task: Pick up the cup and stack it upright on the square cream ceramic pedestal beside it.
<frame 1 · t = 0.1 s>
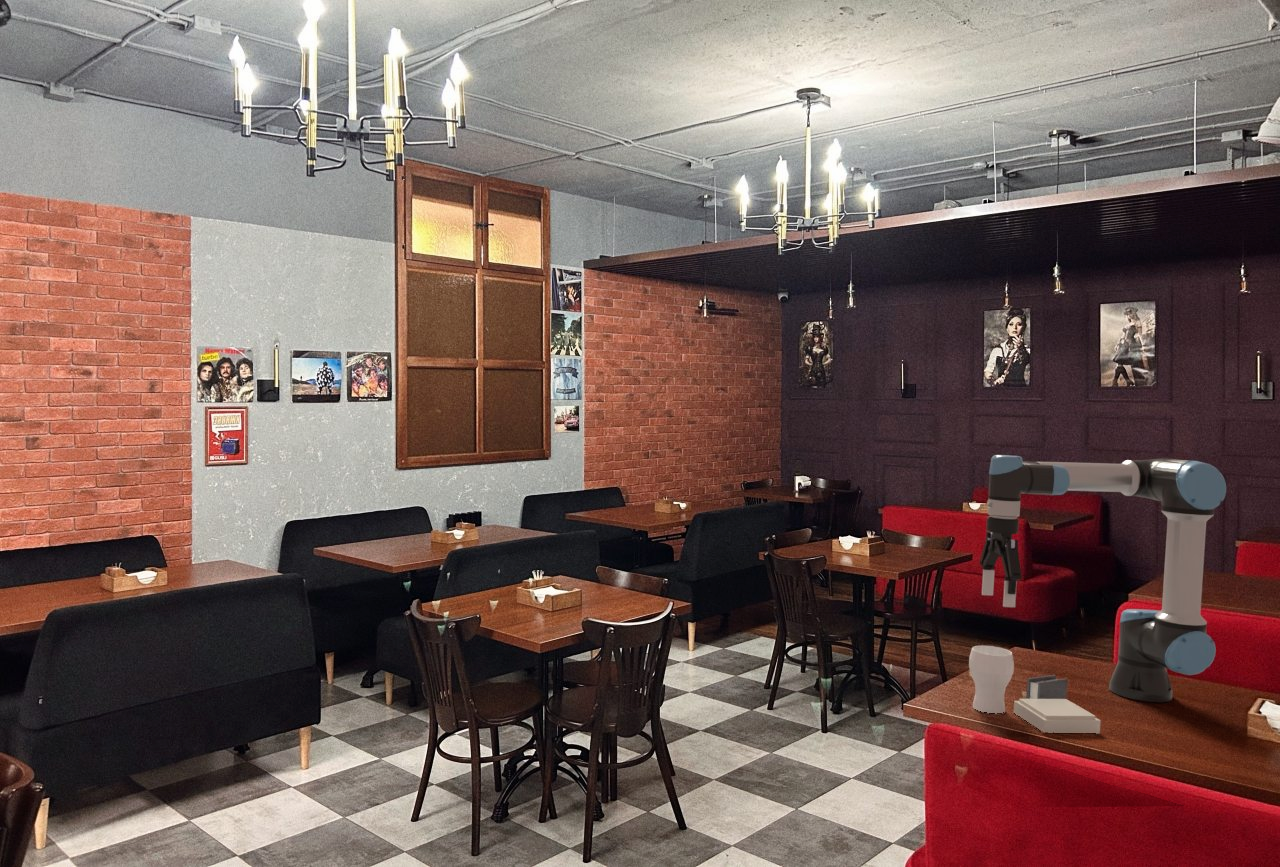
hand: (997, 600, 233), 28 cm above the table, fingers open, 13 cm apart
pedestal: (1055, 723, 225), on the table
cup: (988, 710, 234), on the table
napkin holder: (1045, 705, 239), on the table
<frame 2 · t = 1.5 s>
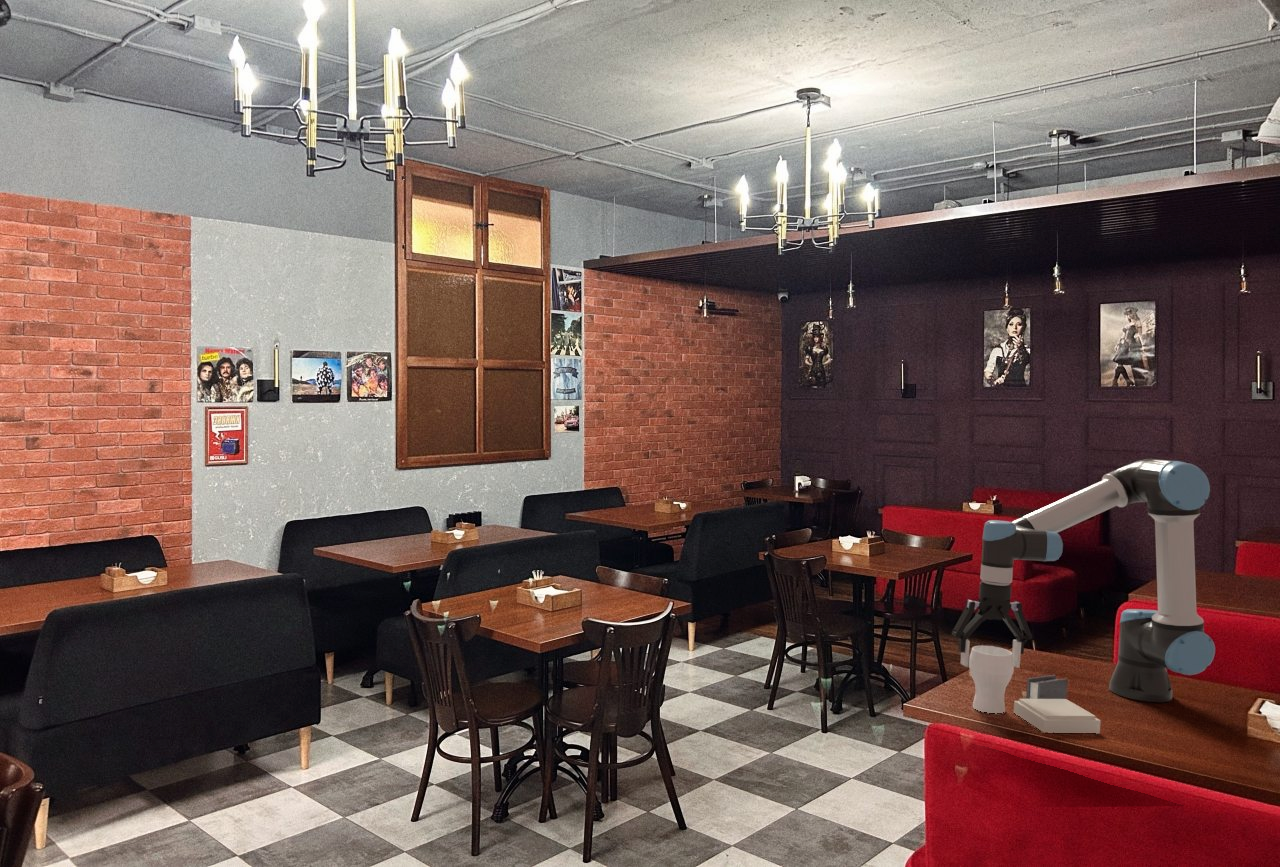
hand: (989, 665, 233), 11 cm above the table, fingers open, 13 cm apart
nothing on the table moved.
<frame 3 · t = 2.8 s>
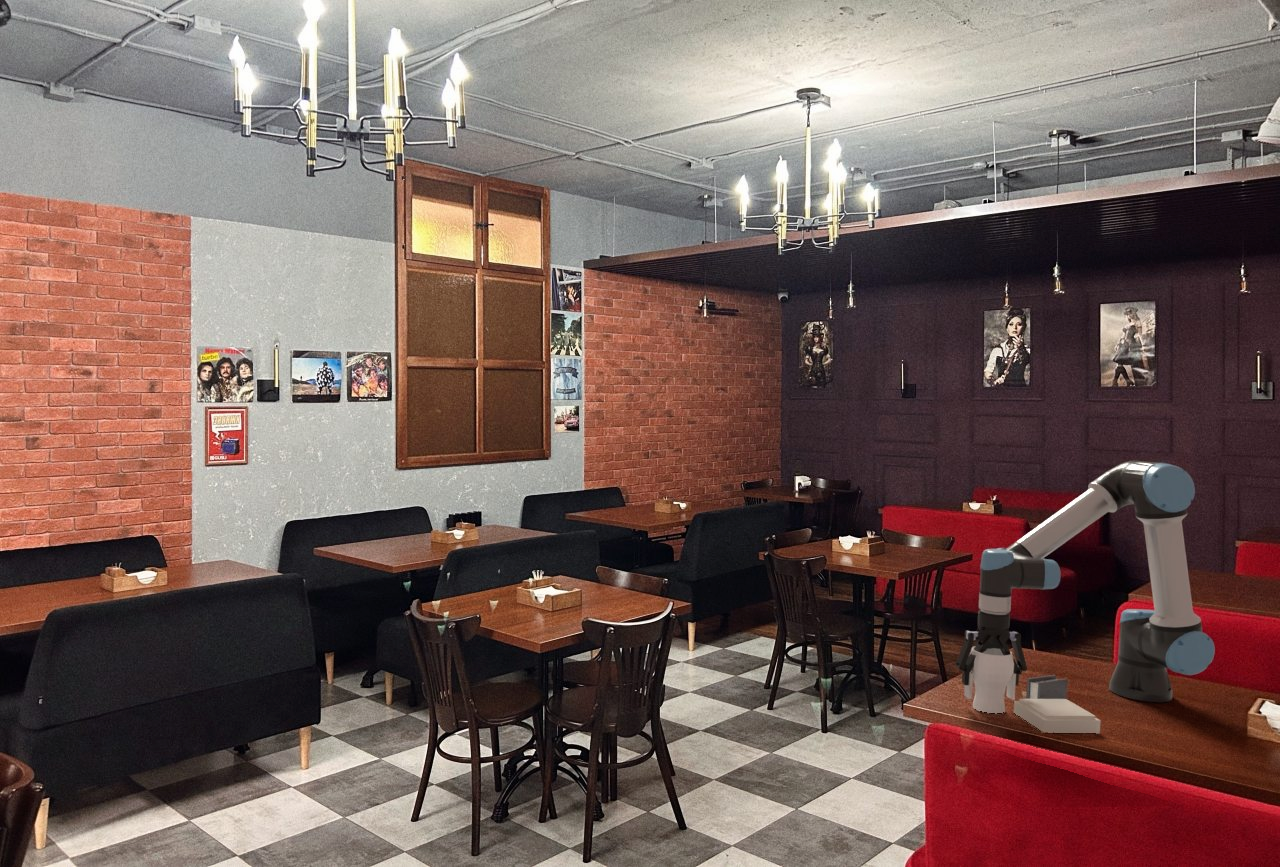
hand: (989, 697, 234), 3 cm above the table, fingers closed on cup, 11 cm apart
cup: (988, 710, 234), on the table, touching gripper
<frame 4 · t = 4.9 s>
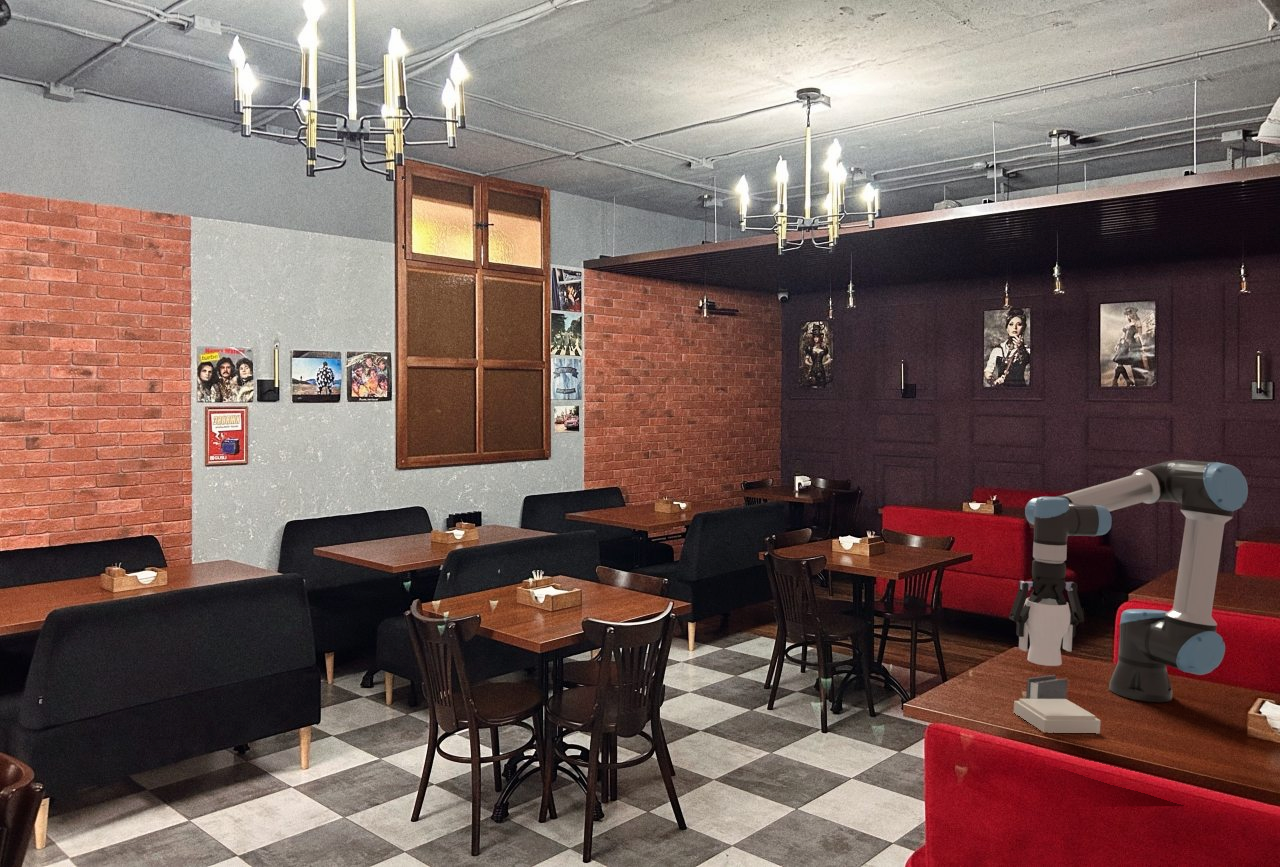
hand: (1045, 649, 227), 17 cm above the table, fingers closed on cup, 11 cm apart
cup: (1044, 662, 227), point 14 cm above the table, touching gripper
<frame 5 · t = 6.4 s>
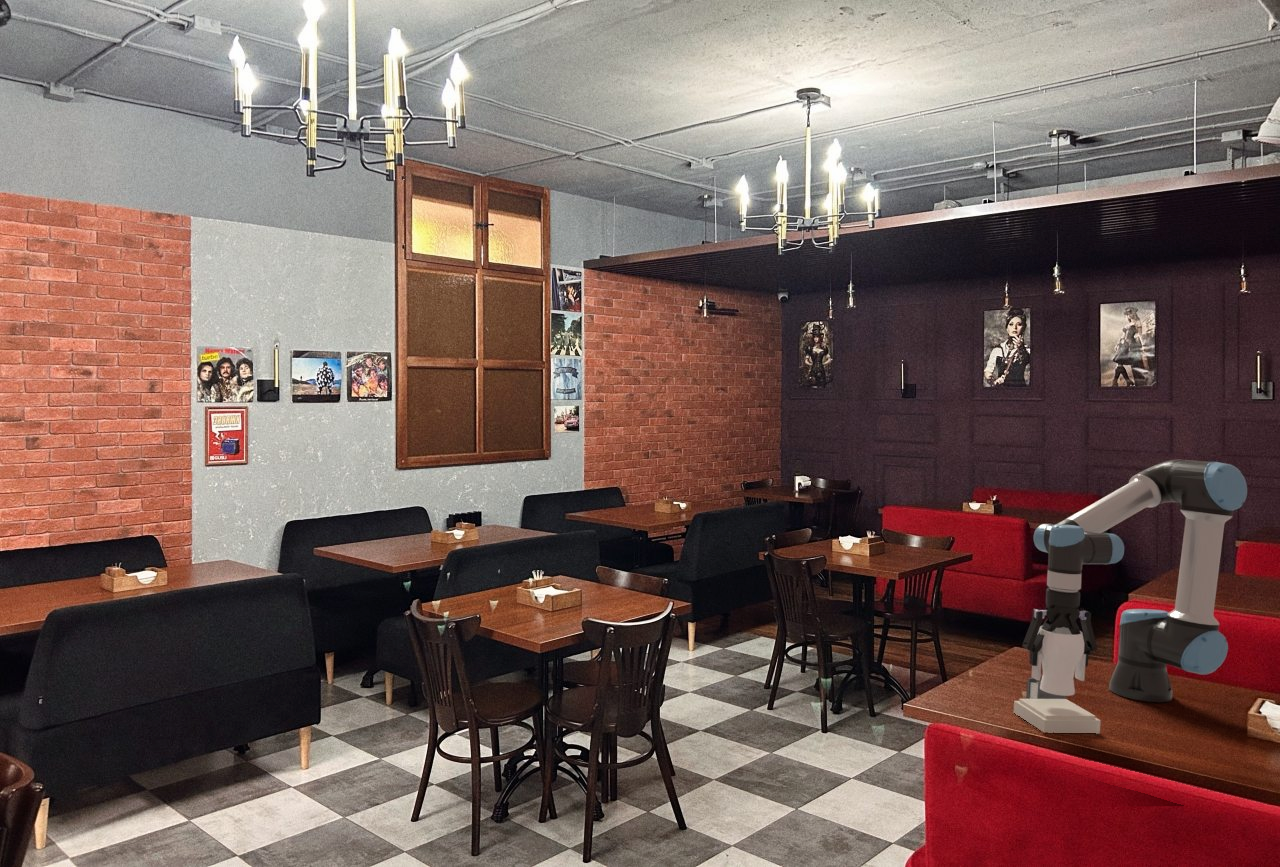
hand: (1057, 679, 225), 11 cm above the table, fingers closed on cup, 11 cm apart
cup: (1057, 691, 225), point 8 cm above the table, touching gripper
when the fingers open (8 cm above the table, at t = 7.5 s): cup drops 1 cm, resting on pedestal.
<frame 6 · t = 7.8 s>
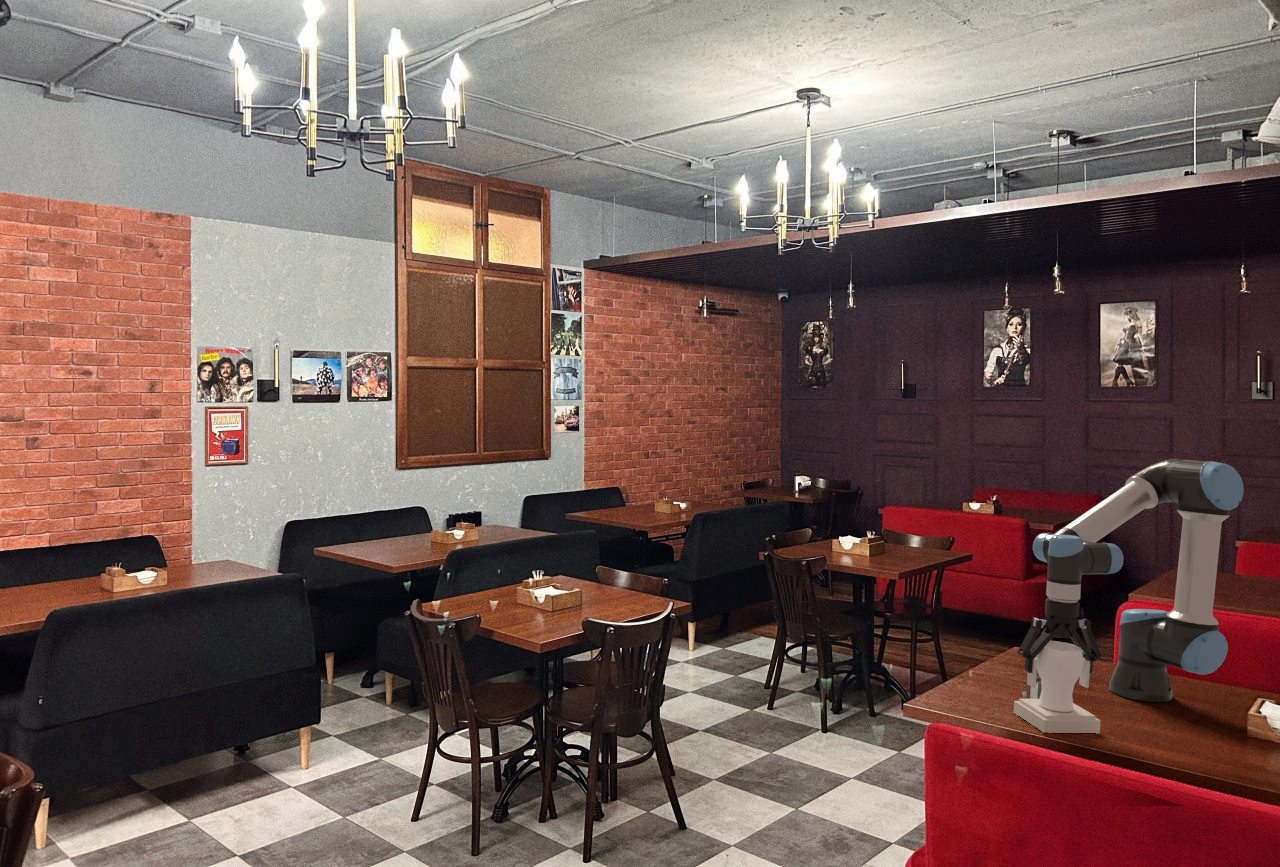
hand: (1057, 686, 225), 9 cm above the table, fingers open, 13 cm apart
cup: (1055, 707, 225), point 4 cm above the table, touching pedestal
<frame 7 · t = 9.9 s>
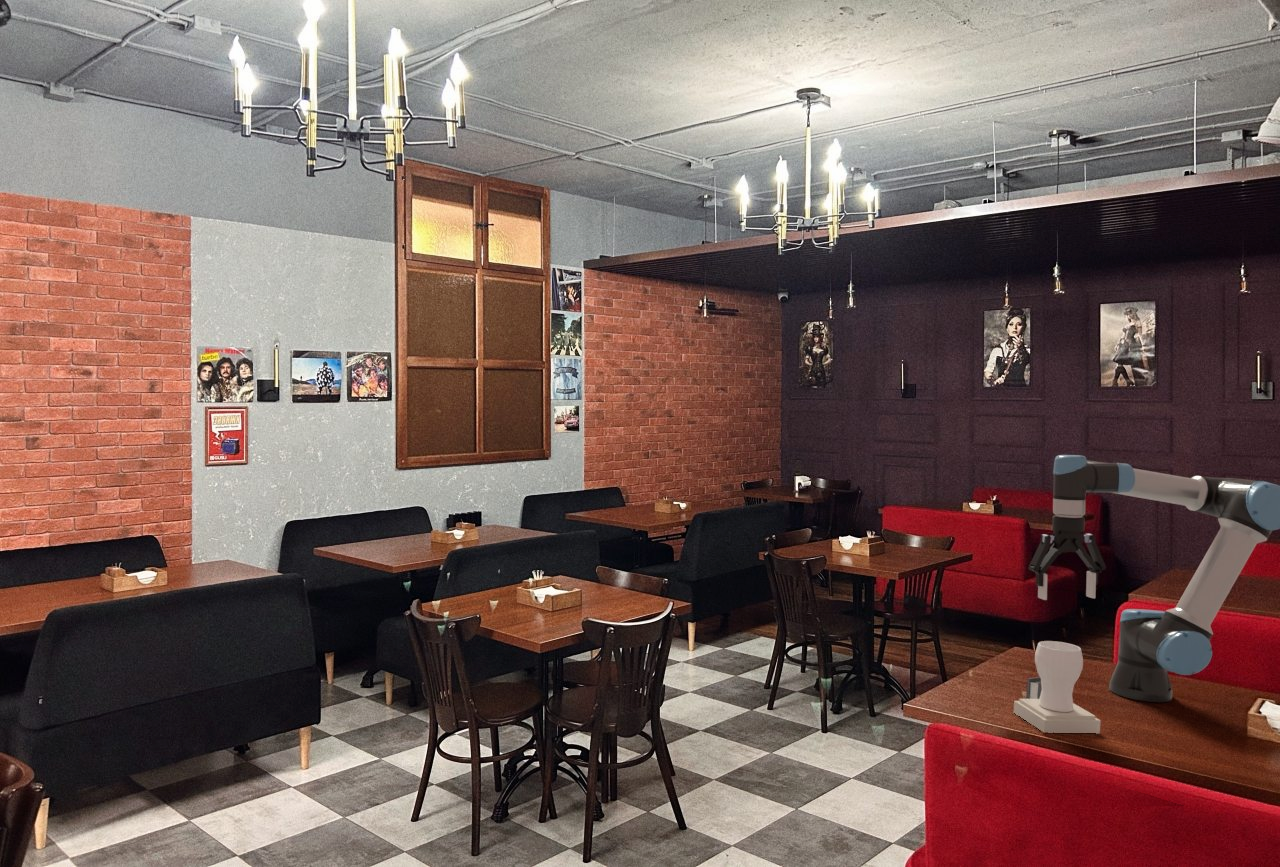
hand: (1066, 598, 237), 28 cm above the table, fingers open, 13 cm apart
nothing on the table moved.
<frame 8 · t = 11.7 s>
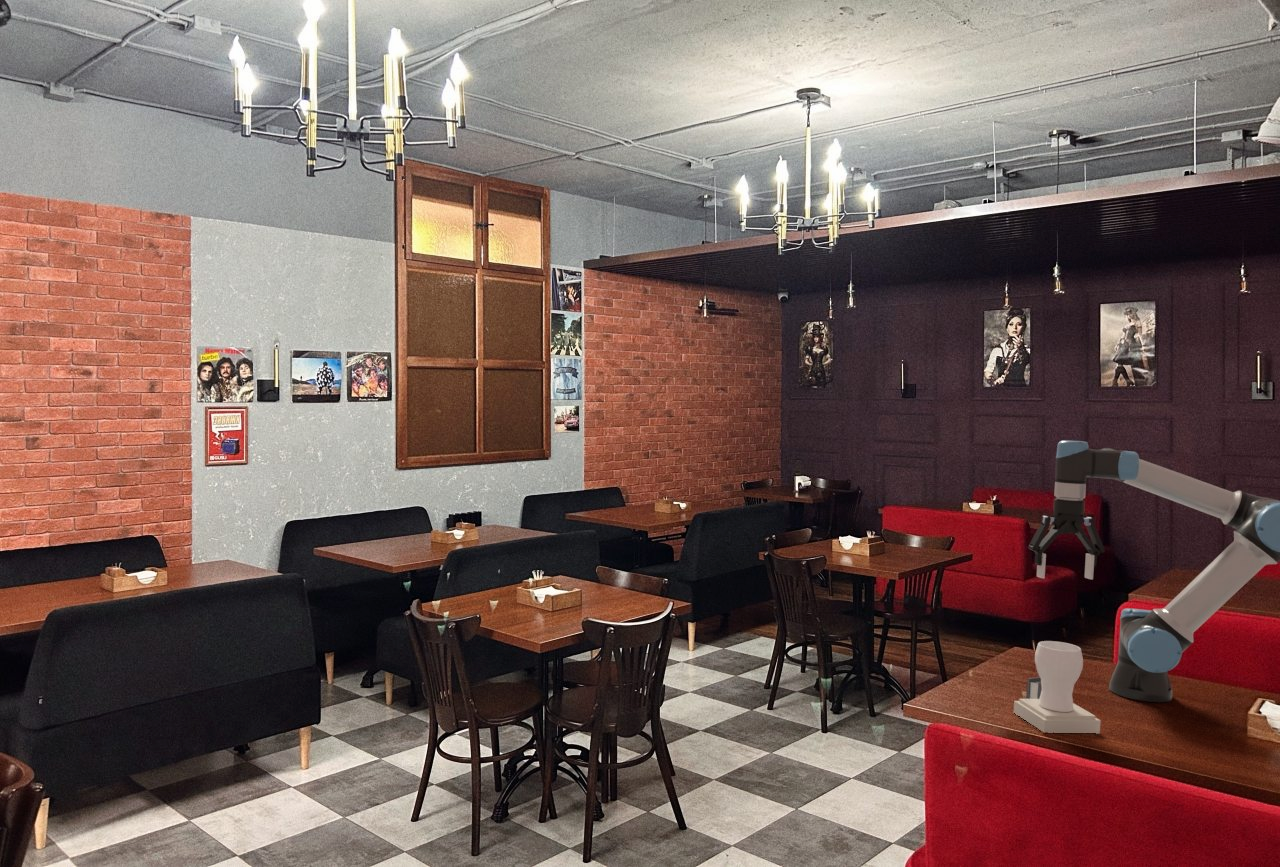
hand: (1064, 578, 246), 32 cm above the table, fingers open, 13 cm apart
nothing on the table moved.
at the end: cup inside the target area on the pedestal (0.1 cm from its centre), point 3.8 cm above the pedestal's base; cup tilted 0°; the gripper is holding nothing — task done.
